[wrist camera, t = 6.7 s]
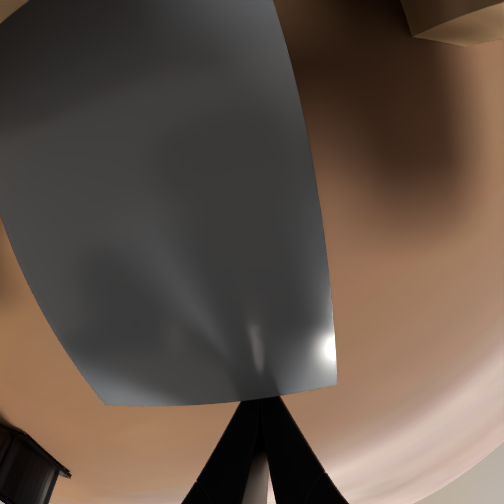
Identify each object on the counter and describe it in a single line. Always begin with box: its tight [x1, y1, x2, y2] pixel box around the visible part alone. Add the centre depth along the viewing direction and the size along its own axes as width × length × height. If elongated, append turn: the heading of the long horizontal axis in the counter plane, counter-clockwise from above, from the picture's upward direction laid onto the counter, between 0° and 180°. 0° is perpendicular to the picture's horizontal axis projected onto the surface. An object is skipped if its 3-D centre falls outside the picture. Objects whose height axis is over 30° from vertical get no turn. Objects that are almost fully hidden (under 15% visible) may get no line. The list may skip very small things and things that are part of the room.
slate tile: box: [0, 0, 337, 406], centre depth 5 cm, size 14×7×2 cm, turn 13°
